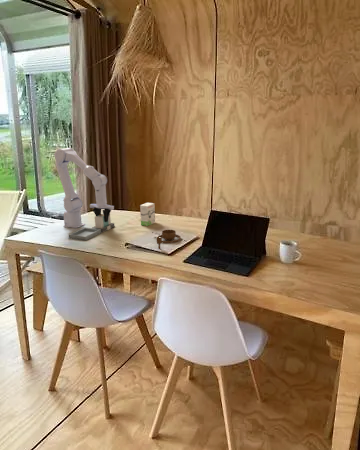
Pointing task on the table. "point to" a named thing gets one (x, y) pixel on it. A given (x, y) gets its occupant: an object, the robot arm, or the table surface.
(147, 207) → the ink box
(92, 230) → the tray
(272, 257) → the table surface
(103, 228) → the frame
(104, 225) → the beige teal carton
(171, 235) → the place setting
